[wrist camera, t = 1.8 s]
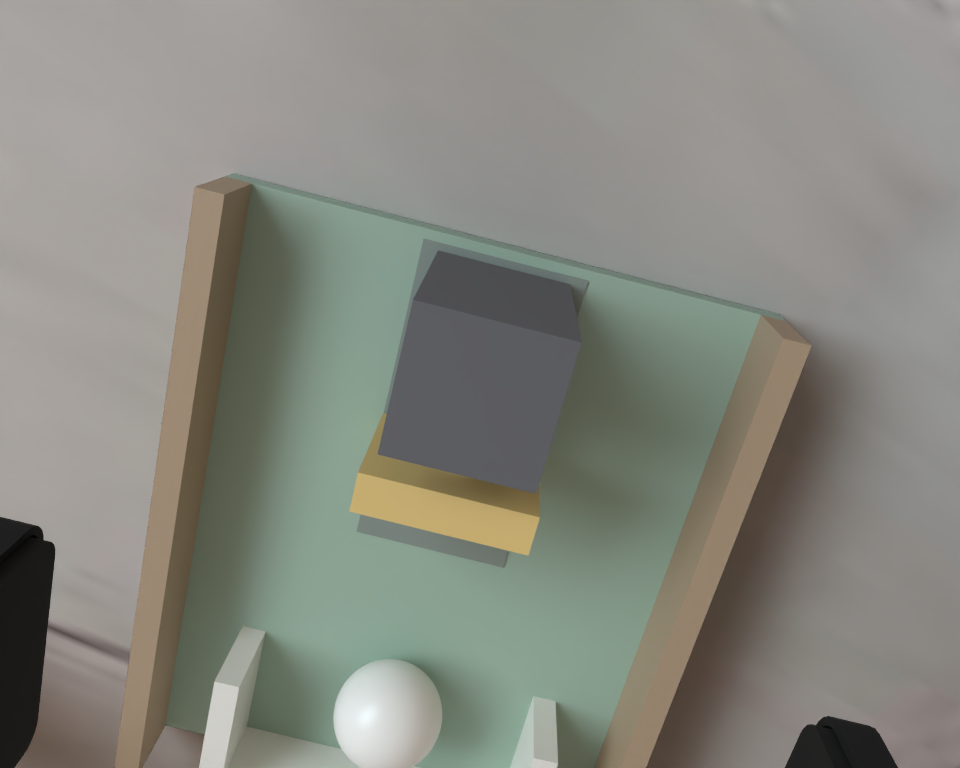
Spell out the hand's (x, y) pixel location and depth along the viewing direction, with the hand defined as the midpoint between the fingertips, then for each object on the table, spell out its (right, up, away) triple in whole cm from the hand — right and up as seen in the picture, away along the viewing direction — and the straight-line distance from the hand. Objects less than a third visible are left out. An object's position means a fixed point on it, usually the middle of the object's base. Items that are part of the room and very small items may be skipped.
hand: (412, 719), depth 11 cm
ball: (-2, -7, +17) cm, 19 cm away
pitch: (-1, -1, +19) cm, 20 cm away
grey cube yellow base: (+1, +4, +17) cm, 17 cm away
